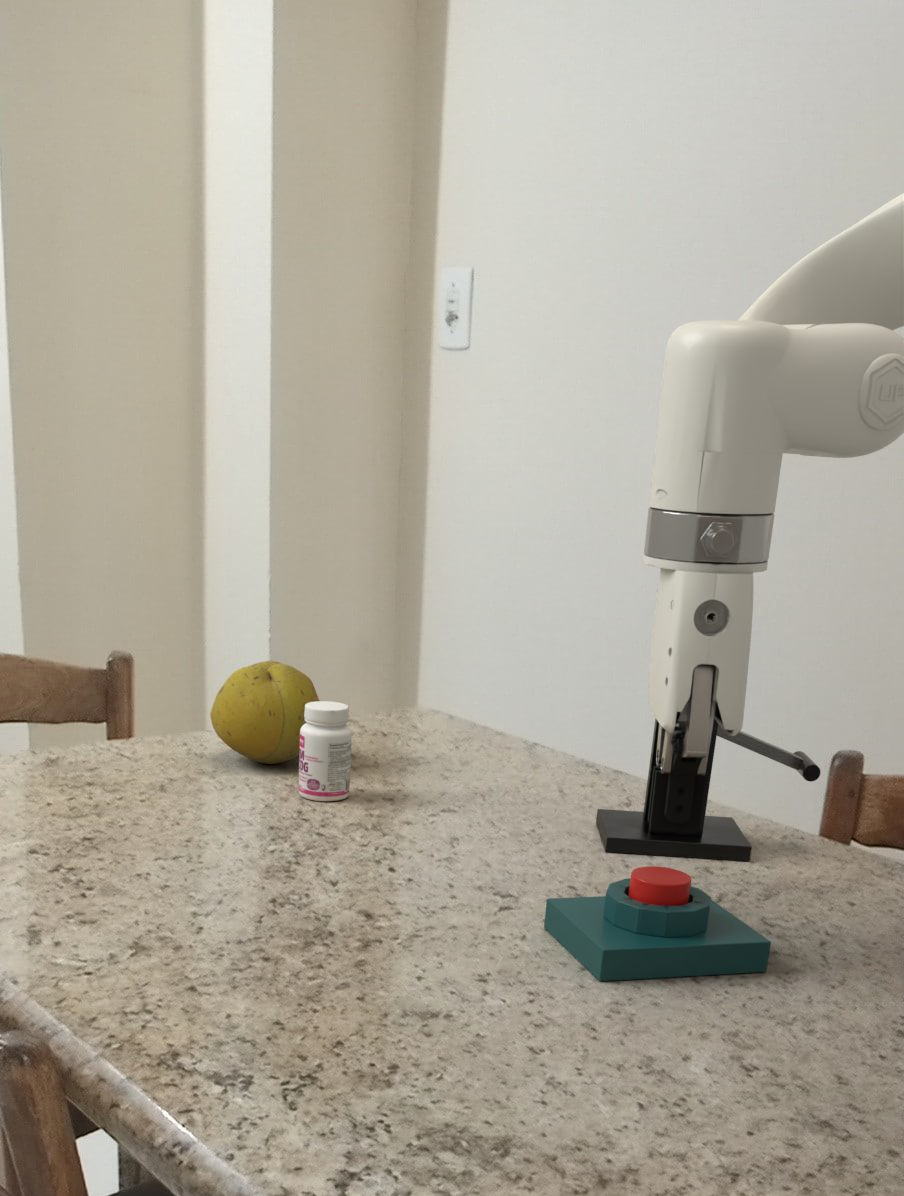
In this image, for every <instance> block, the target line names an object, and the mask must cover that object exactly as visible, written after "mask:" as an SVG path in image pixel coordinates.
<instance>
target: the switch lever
mask: <svg viewBox="0 0 904 1196" xmlns="http://www.w3.org/2000/svg"><path fill="white" fill-rule="evenodd" d="M716 737H719V738H722V739H724V740H726V741H728V742H731V743H733V744H735V745H737V746H740V747H742V748H744V749H747V750H749V751H750V752H751V751H752V752H754V753H756V754H758V755H761V756H763V757H766V758H768V759H771V760H773V761H775V762H777V763H780V764H782V765H784V766H786V767H789V768H791V769H793V770H795V771H797V772H798V774H799V775H800V776H801V777H802V778H803V779H804V780H805V781H806V782H815V781H817V780H818V779H819V778H820V776H821V768H820V767H819V766H818V764H817V763H815V761H814V760H813V759H811V758H810V757H809V756H808V755H807V754H806V753H805V752H804V751H801V750H798V751H794V752H790V751H788V750H785V749H784V748H781V747H779V746H777V745H774V744H772V743H770V742H767V741H765V740H763V739H761V738H758V737H755V736H753V735H751V734H749V733H746V732H744V731H742V730H741V731H740V732H739V733H738V734H736V735H735V736H729V735H727V734H726V732H725V731H724V730H723V729H722V727H721V726H720V725H719V724H718V730H717V736H716Z"/></svg>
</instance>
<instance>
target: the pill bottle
mask: <svg viewBox="0 0 904 1196" xmlns="http://www.w3.org/2000/svg"><path fill="white" fill-rule="evenodd" d="M349 711H350V709H349V706H348V704H345V703H343V702H338V701H331V700H319V701H315V702H309V703H307V704H306V705H305V713H304V717H305V719H304V720H305V721H306V722H307V723H306V724H304V725H303V726H302V727H301V729H300V752H299V755H298V781H297V783H298V786H297V792H298V794H299V796H301V797H302V798H304V799H307V800H309V801H310V800H311V801H314V802H315V801H316V802H336V801H342V800H344V799H346V798H348V797H349V795H350V788H351V787H350V786H351V785H350V784H351V763H352V761H351V760H352V740H353V739H352V737H353V732H352V729H351V727H349V726H348V725H347V724H348V723H349Z"/></svg>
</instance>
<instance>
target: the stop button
mask: <svg viewBox="0 0 904 1196" xmlns="http://www.w3.org/2000/svg"><path fill="white" fill-rule="evenodd" d="M630 878H631V879H630ZM630 878H629V879H630V887H629V895H628V896H629V897H630V898H631V899H634V900H637V901H640V902H643V903H646V904H653V905H660V906H680V905H685V904H688V901H689V894H690V887H691V886H692V877H691V876H690V874H688V873H686V872H684V871H681V870H679V869H675V868H671V867H664V866H656V865H655V866H653V865H652V866H641V867H637V868H634V869H632V871H631V872H630Z"/></svg>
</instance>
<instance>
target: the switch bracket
mask: <svg viewBox="0 0 904 1196" xmlns="http://www.w3.org/2000/svg"><path fill="white" fill-rule="evenodd" d="M717 730H718V722H717V721H716V720H715V718H714V723H713V729H712V736H711V742H710V748H709V754H708V761H707V767H706V781H705V789H704V797H703V805H702V812H701V820H700V828H699V830H698V831H697V832H696V833H677V832H657V831H653V830H652V829H651V827H650V824H649V822H648V811H649V802H650V794H651V785H652V776H653V767H654V766H661V765H657V764H656V754H657V743H658V732H659V722H658V721H657V719H656V718H655V720H654V727H653V734H652V741H651V742H652V743H651V750H650V758H649V766H648V775H647V780H646V781H647V782H646V790H645V797H644V806H643V811H638V810H621V809H607V808H606V809H605V808H597V811H596V817H595V818H596V820H595V823H596V826H597V830H598V833H599V835H600V839H601V842H602V846H603V849H604V851H605V852H606V853H615V854H630V855H644V856H645V855H647V856H663V857H676V858H691V859H692V858H693V859H706V860H707V859H708V860H724V861H737V862H739V861H740V862H750V861H751V855H752V849H753V847H752V845H751V844H750V842H749V841H748V839H747V838H746V836H745V834H744V833H743V832H742V830H741V829H740V826H739V825H738V824H737V822H736V821H735V819H734V818H733V817H731V816H716V815H706V813H707V804H708V798H709V793H710V792H709V790H710V785H711V777H712V770H713V763H714V757H715V750H716V742H717V737H718V736H717Z"/></svg>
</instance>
